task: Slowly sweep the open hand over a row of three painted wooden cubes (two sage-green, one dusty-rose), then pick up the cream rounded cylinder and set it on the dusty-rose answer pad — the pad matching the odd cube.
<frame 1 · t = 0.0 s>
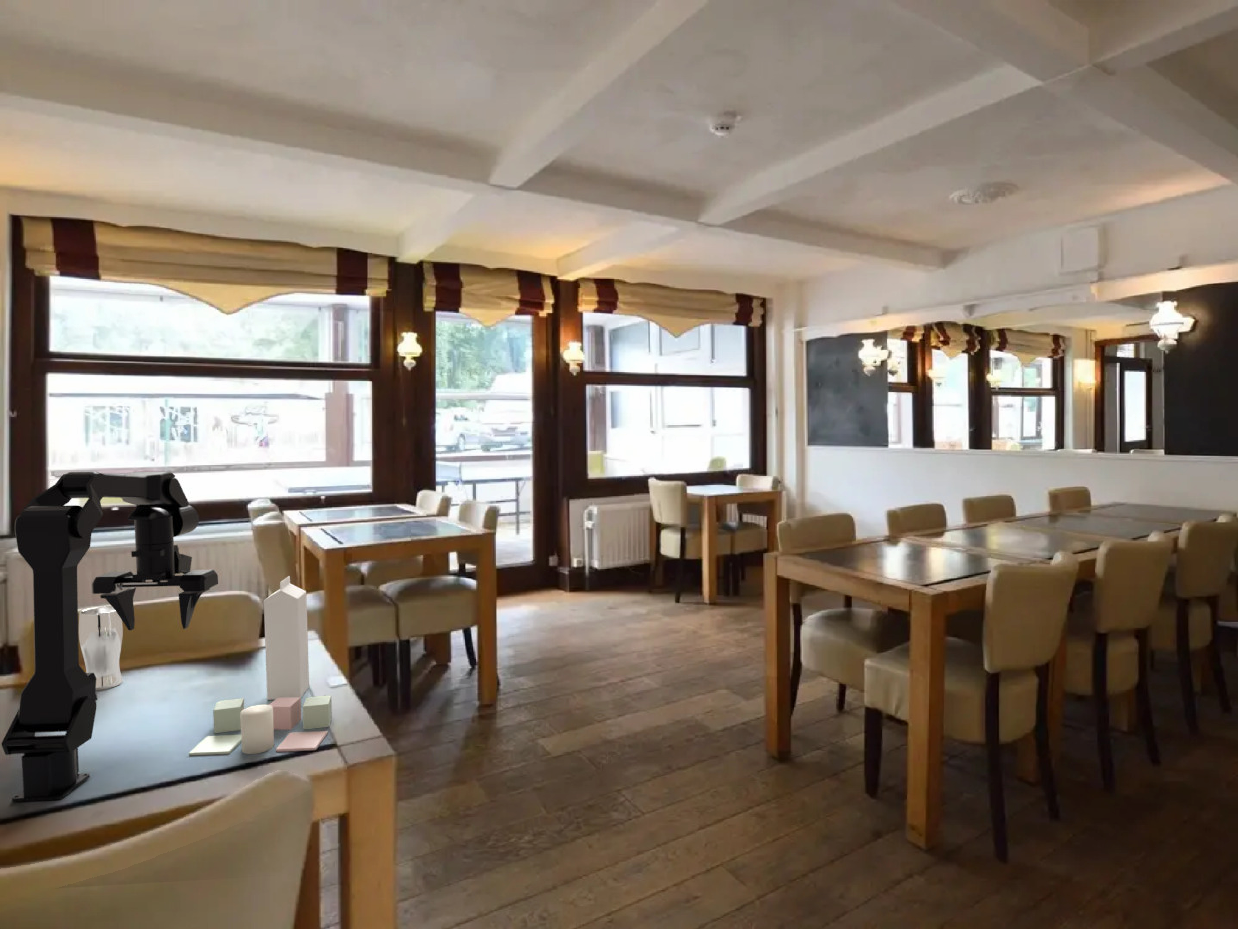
hand: (158, 629, 128), 15 cm above the table, fingers open, 9 cm apart
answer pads: (260, 744, 115), on the table
cube sage a: (317, 723, 123), on the table
cream rounded cylinder: (258, 747, 114), on the table
beer glass: (103, 686, 141), on the table
cube sage b: (229, 727, 122), on the table
cube rose: (284, 725, 122), on the table
milk: (288, 694, 136), on the table
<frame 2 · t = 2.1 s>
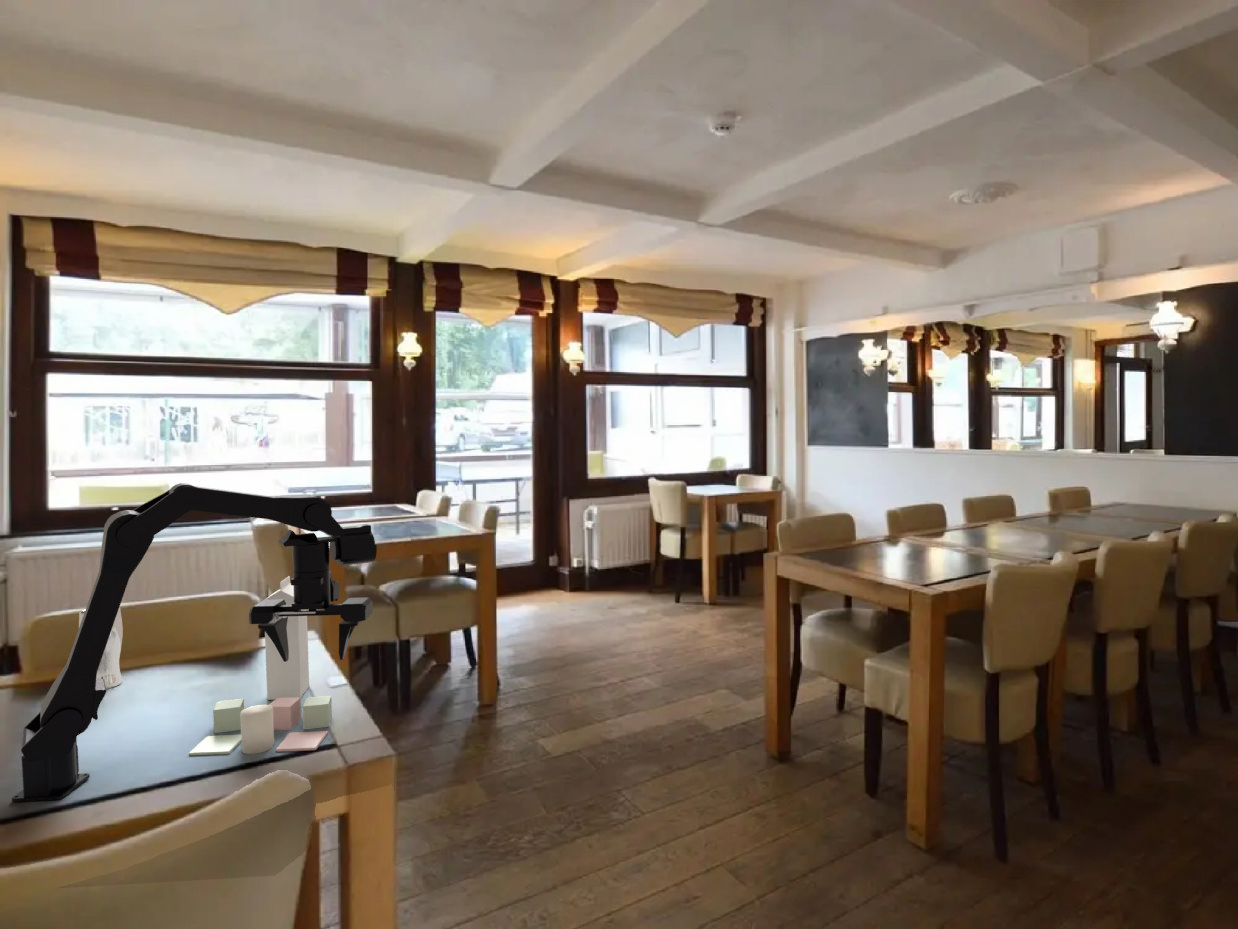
hand: (314, 660, 122), 11 cm above the table, fingers open, 9 cm apart
nothing on the table moved.
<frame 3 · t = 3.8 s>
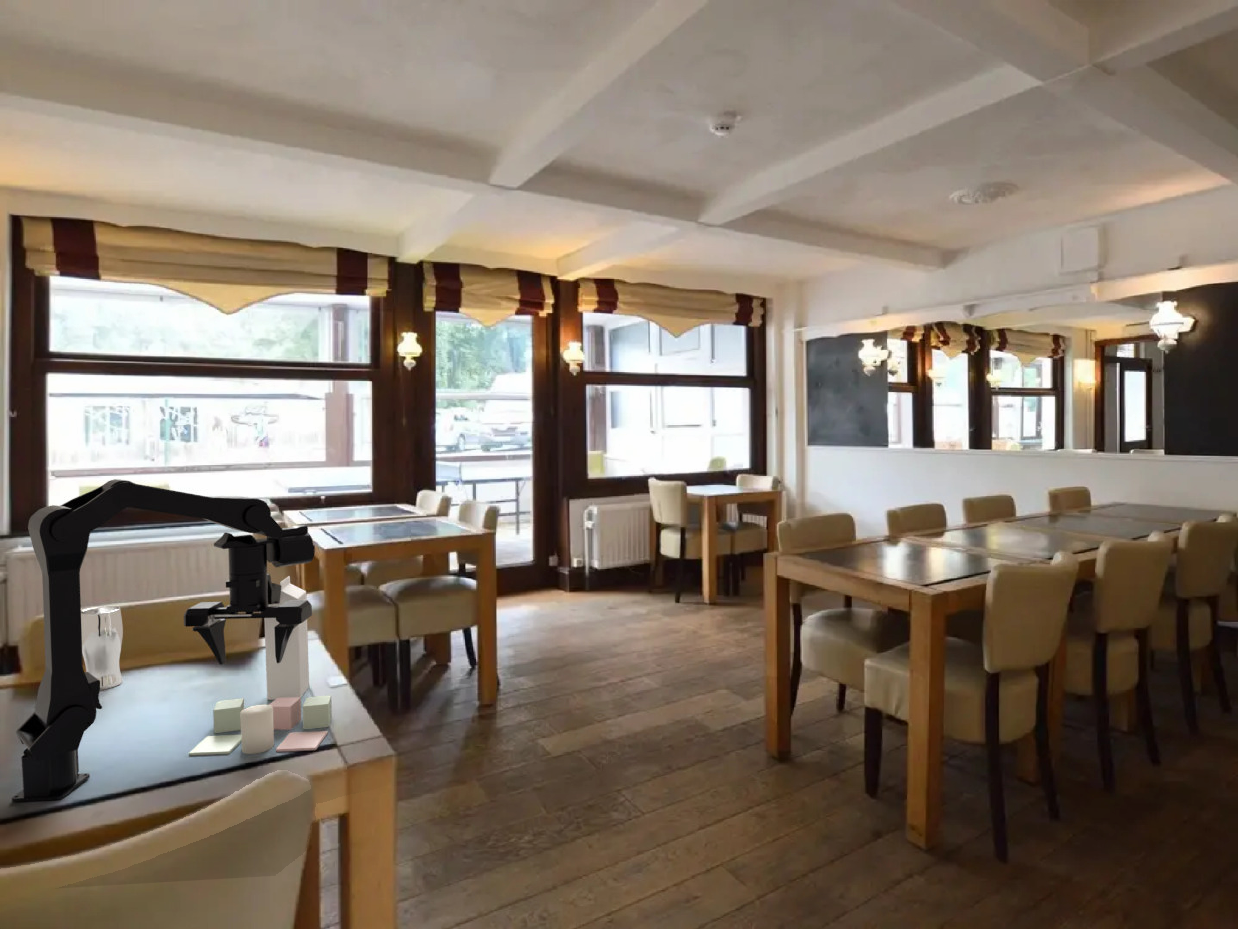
hand: (250, 663, 121), 11 cm above the table, fingers open, 9 cm apart
nothing on the table moved.
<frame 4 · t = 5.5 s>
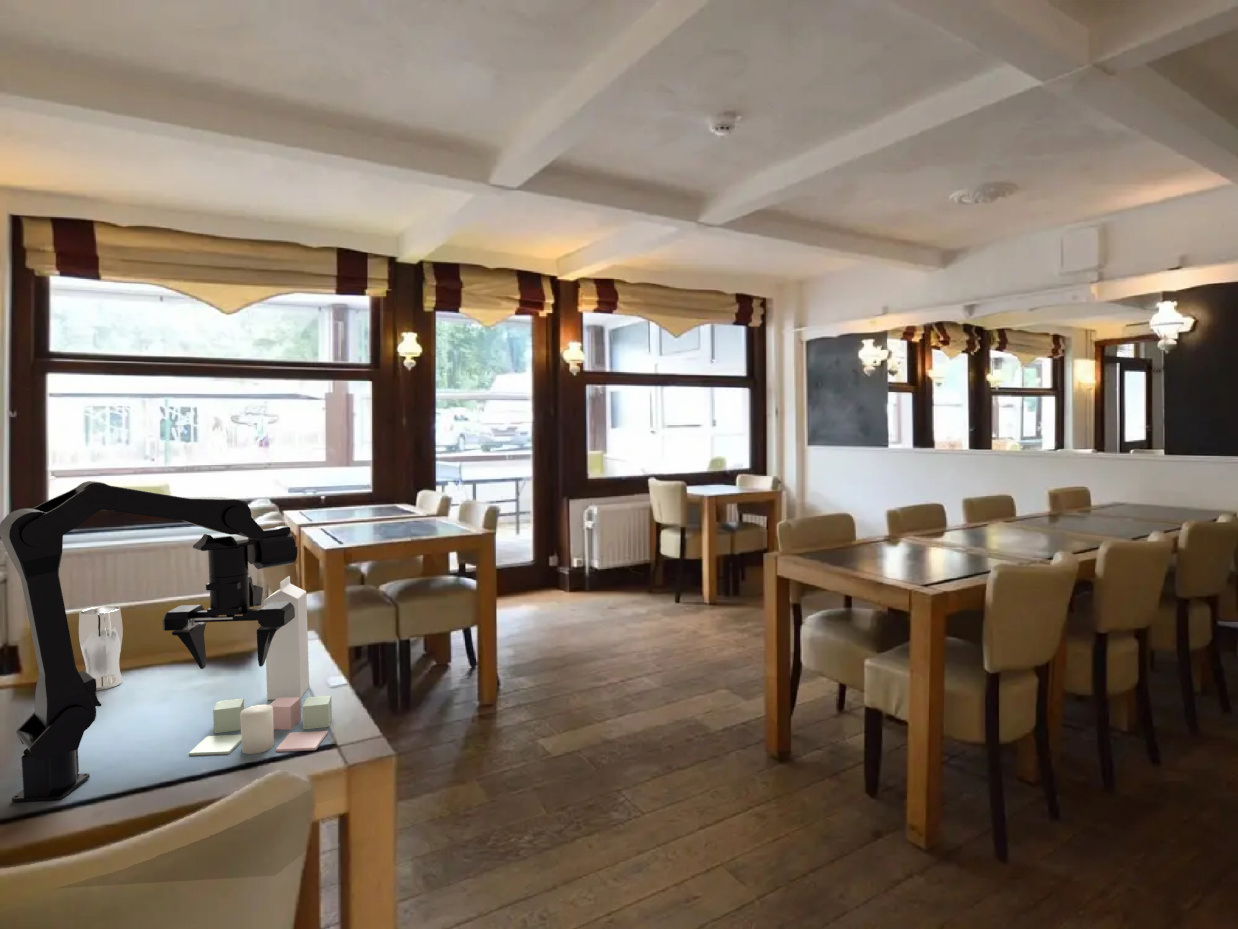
hand: (232, 667, 119), 11 cm above the table, fingers open, 9 cm apart
nothing on the table moved.
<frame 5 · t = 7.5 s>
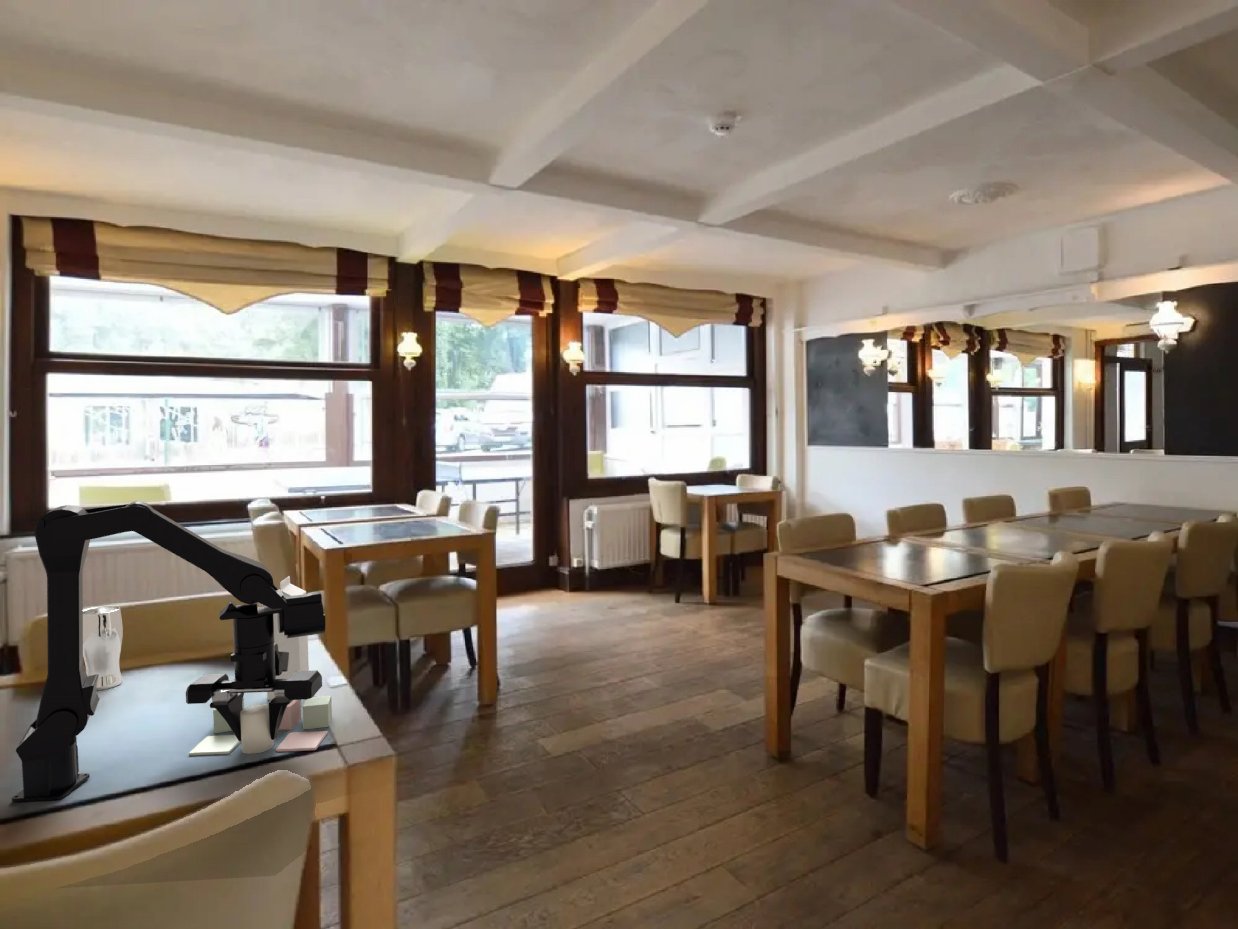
hand: (257, 739, 114), 1 cm above the table, fingers closed on cream rounded cylinder, 5 cm apart
cream rounded cylinder: (258, 747, 114), on the table, touching gripper
everything else where it was.
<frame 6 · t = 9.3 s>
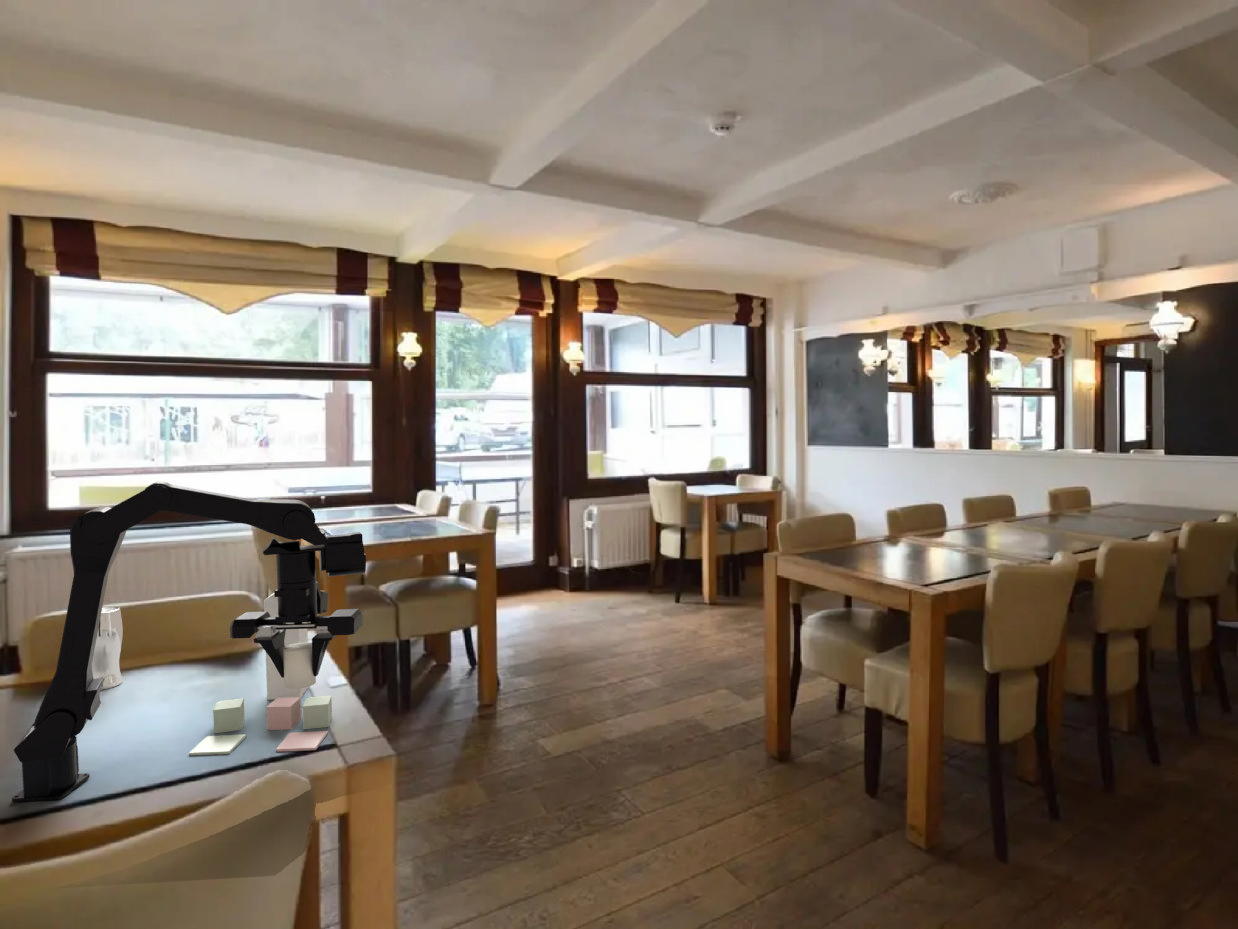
hand: (300, 676, 115), 11 cm above the table, fingers closed on cream rounded cylinder, 5 cm apart
cream rounded cylinder: (300, 683, 115), point 10 cm above the table, touching gripper
everything else where it was.
when the fingers open (3 cm above the table, at t = 11.0 s): cream rounded cylinder drops 1 cm, resting on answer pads.
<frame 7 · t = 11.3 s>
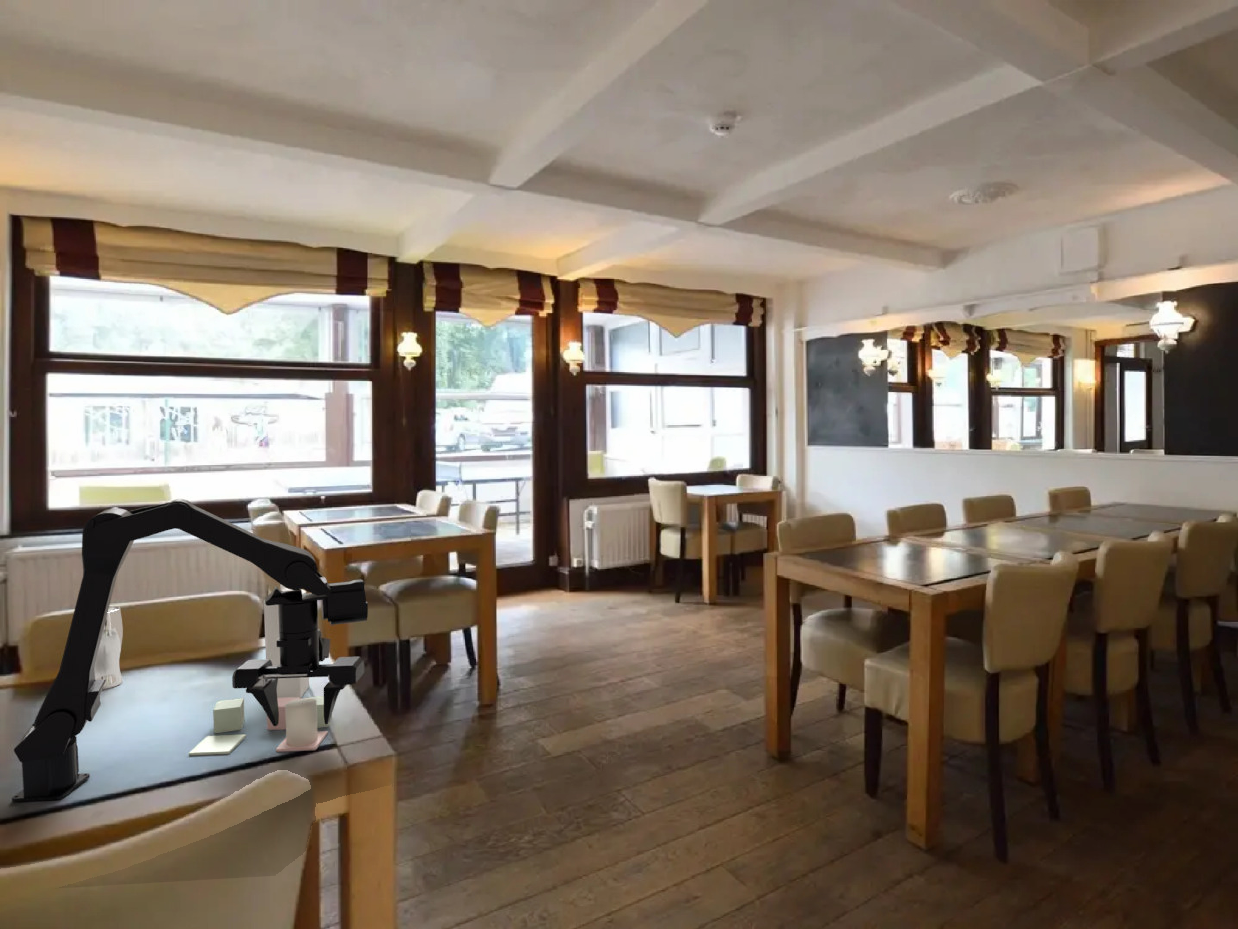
hand: (301, 724, 115), 3 cm above the table, fingers open, 8 cm apart
cream rounded cylinder: (302, 740, 115), resting on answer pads
everything else where it was.
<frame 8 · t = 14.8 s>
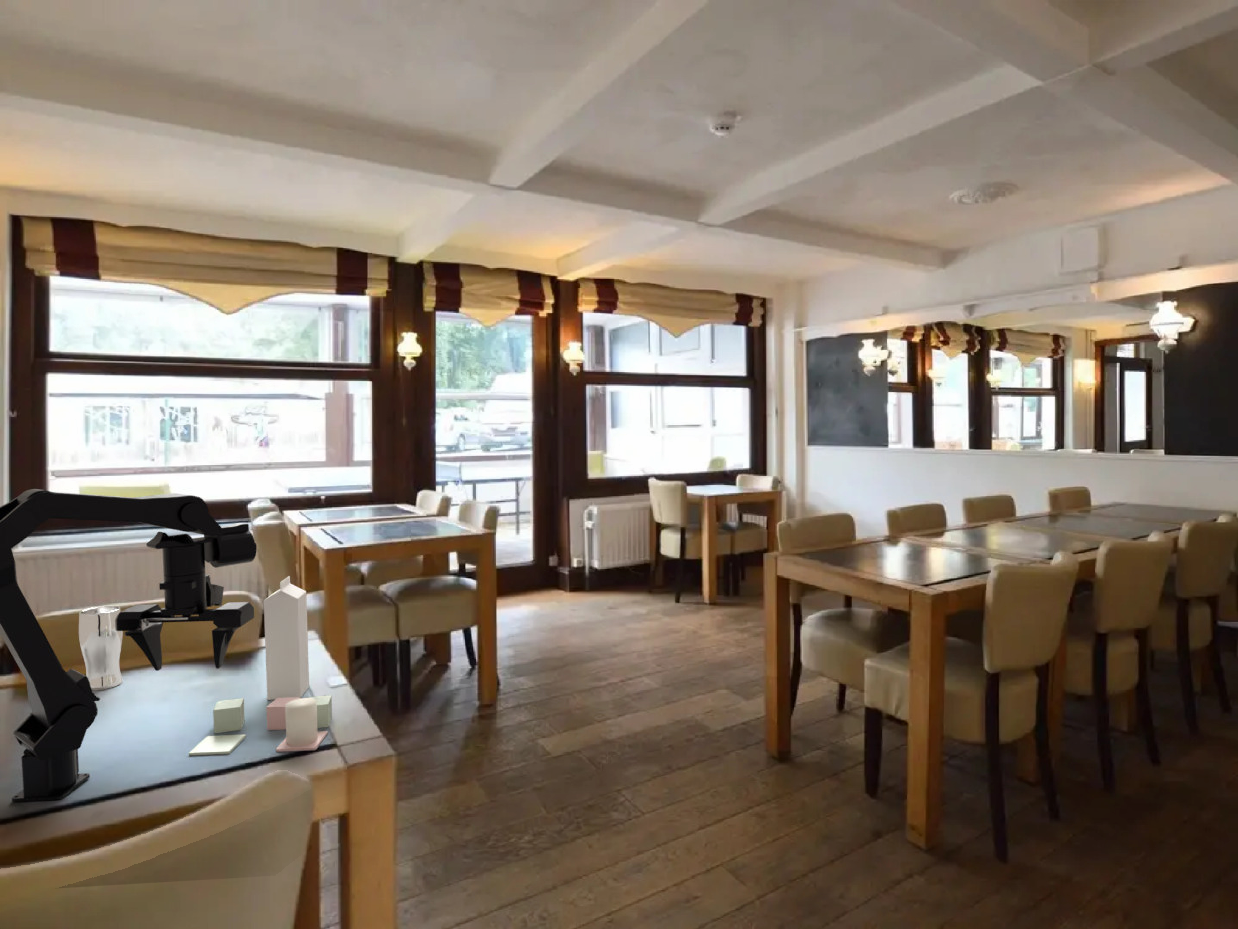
hand: (188, 668, 115), 12 cm above the table, fingers open, 9 cm apart
nothing on the table moved.
at the end: cream rounded cylinder 0.0 cm from the target spot on the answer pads, point 0.4 cm above the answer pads's base; cream rounded cylinder tilted 0°; the gripper is holding nothing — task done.
